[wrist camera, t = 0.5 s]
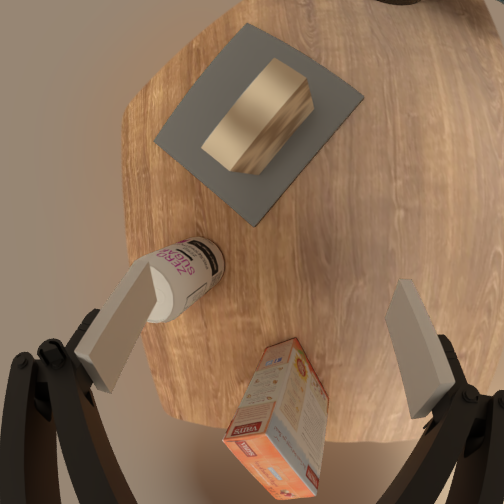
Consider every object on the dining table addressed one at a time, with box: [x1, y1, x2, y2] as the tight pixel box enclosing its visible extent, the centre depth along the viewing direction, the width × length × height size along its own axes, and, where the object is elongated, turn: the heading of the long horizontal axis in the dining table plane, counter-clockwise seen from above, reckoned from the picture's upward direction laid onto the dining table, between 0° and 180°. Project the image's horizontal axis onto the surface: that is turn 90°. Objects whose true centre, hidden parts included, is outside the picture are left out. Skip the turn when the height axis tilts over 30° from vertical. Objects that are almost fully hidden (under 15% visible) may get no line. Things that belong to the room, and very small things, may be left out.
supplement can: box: [129, 237, 224, 323], centre depth 39 cm, size 8×8×15 cm
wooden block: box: [201, 58, 314, 175], centre depth 32 cm, size 12×4×12 cm, turn 141°
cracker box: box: [222, 338, 329, 500], centre depth 36 cm, size 14×6×21 cm, turn 28°
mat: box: [154, 23, 364, 227], centre depth 38 cm, size 24×21×1 cm
